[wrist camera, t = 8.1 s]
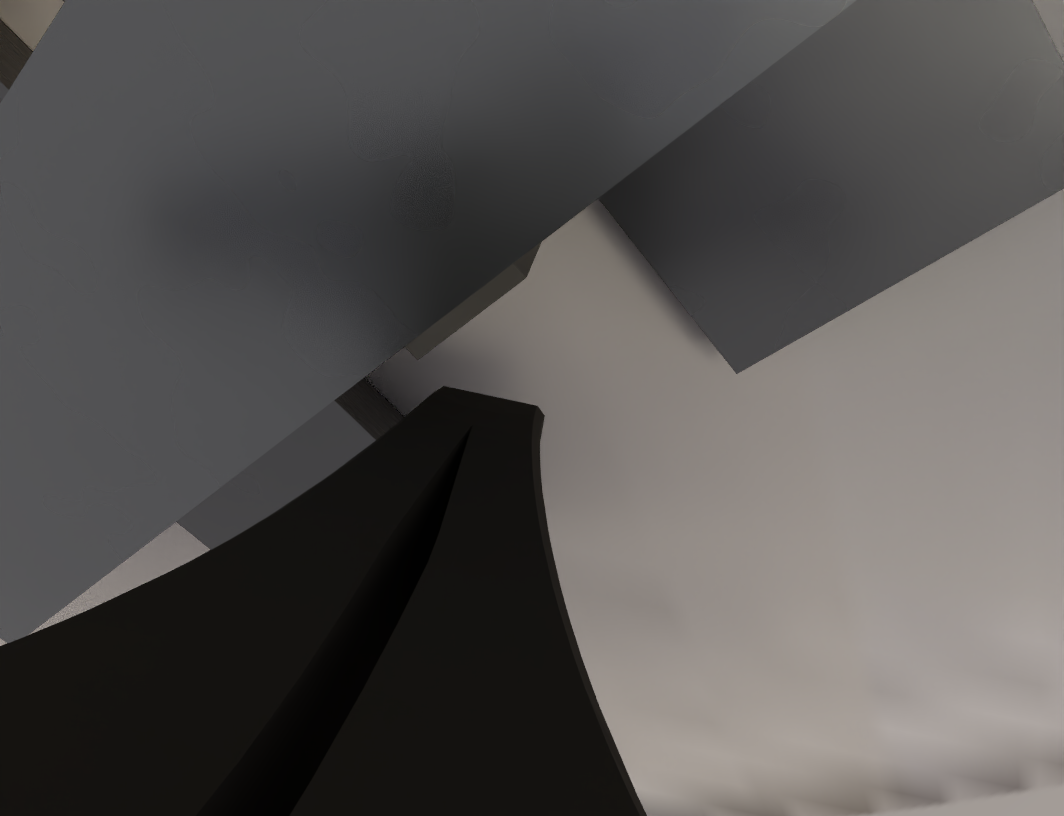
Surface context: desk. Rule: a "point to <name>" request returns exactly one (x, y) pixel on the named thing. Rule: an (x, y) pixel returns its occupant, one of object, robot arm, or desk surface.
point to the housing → (436, 213)
